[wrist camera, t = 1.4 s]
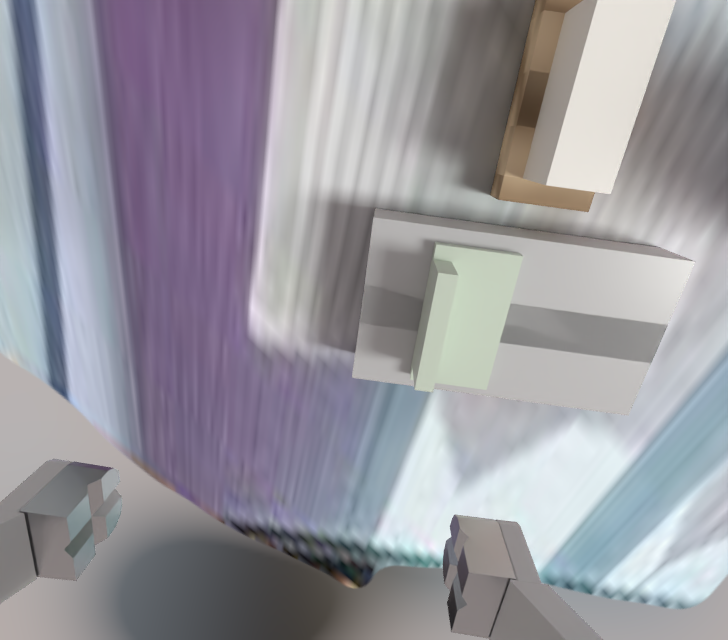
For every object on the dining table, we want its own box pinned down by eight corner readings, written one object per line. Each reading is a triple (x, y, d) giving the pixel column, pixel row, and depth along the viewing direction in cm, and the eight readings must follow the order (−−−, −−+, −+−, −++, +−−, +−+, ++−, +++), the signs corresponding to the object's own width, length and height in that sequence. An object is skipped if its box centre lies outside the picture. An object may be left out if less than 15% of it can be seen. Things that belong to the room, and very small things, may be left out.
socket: (375, 208, 32) (373, 217, 28) (659, 247, 32) (695, 261, 28) (355, 353, 36) (352, 377, 33) (603, 387, 36) (628, 415, 33)
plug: (551, 22, 27) (600, -13, 20) (609, 30, 27) (676, -2, 20) (513, 175, 30) (545, 185, 24) (565, 182, 30) (610, 194, 24)
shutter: (435, 241, 28) (441, 256, 25) (519, 253, 28) (538, 269, 25) (409, 373, 32) (412, 402, 29) (484, 384, 32) (495, 414, 29)
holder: (537, -9, 26) (551, -23, 24) (635, 5, 26) (659, -8, 24) (490, 195, 31) (498, 199, 29) (573, 206, 31) (588, 212, 29)
